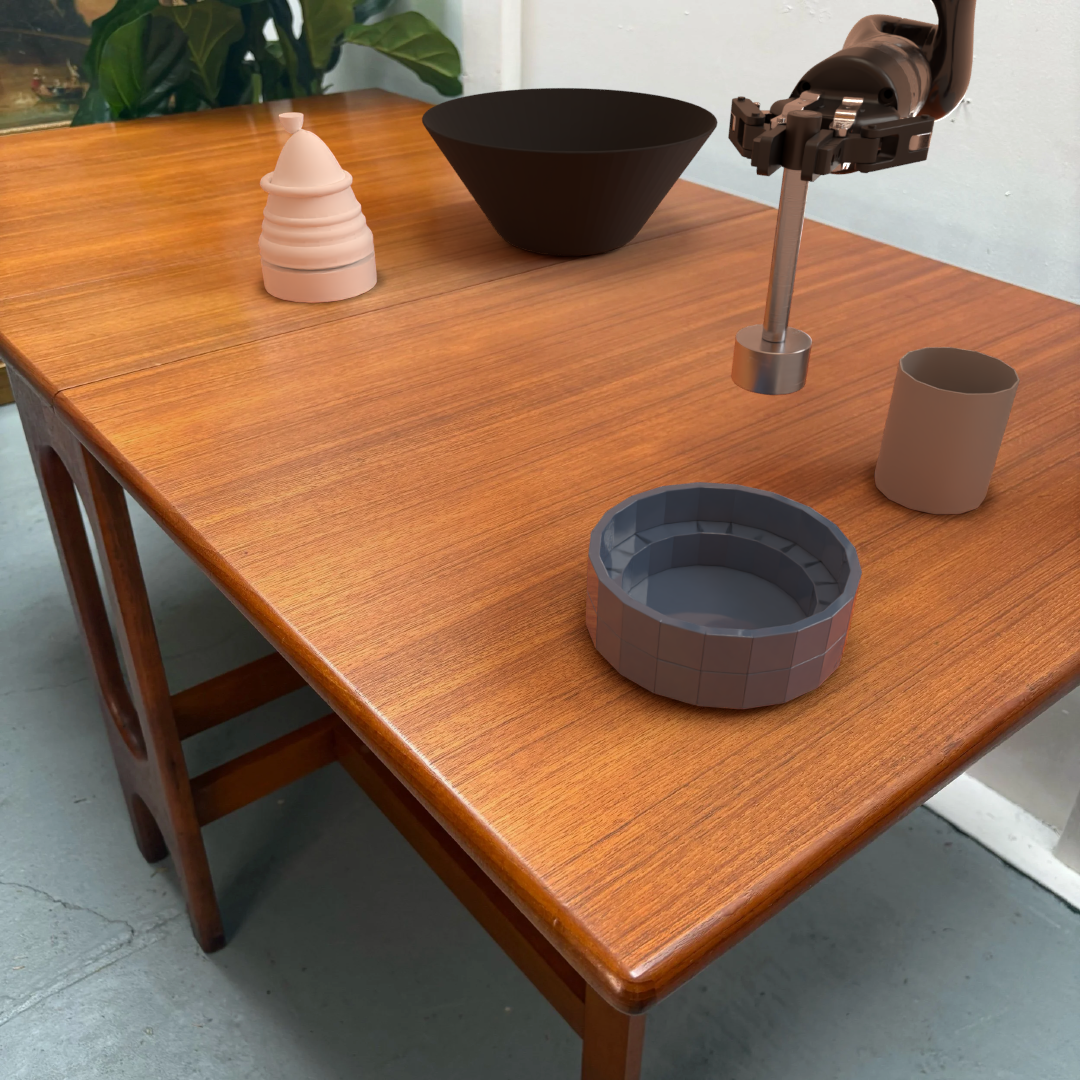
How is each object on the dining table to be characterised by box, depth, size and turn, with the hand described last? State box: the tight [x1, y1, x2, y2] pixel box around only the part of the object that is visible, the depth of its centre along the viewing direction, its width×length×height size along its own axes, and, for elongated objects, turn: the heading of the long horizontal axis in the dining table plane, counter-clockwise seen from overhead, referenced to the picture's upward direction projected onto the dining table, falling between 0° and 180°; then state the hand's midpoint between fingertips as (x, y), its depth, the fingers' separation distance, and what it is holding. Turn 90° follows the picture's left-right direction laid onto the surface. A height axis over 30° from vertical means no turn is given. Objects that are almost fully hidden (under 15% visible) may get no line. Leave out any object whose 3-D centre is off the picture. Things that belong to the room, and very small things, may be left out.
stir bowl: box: [585, 481, 863, 710], centre depth 64 cm, size 16×16×6 cm
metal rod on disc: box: [730, 110, 822, 396], centre depth 64 cm, size 5×5×17 cm
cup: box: [873, 346, 1021, 515], centre depth 78 cm, size 8×8×10 cm
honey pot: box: [257, 111, 378, 304], centre depth 113 cm, size 13×13×18 cm
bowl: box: [421, 87, 718, 257], centre depth 127 cm, size 36×36×15 cm
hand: (786, 160), depth 58 cm, fingers closed on metal rod on disc
